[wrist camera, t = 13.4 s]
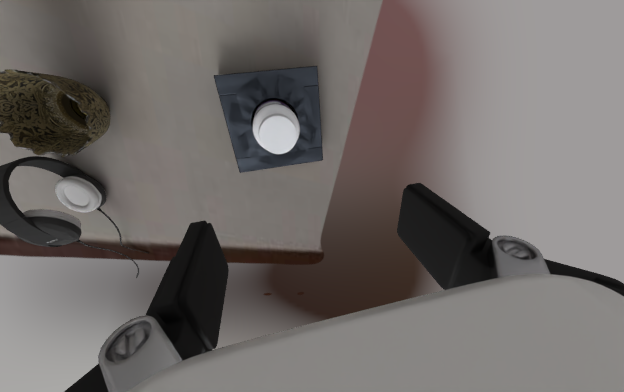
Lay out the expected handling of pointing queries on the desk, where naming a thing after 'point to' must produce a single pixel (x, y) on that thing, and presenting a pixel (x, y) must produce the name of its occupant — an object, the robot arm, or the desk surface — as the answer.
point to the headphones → (49, 223)
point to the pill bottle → (275, 126)
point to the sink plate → (266, 85)
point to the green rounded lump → (50, 113)
